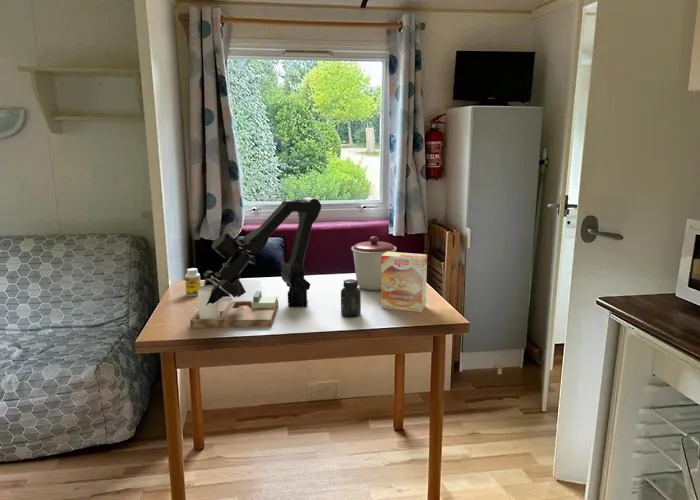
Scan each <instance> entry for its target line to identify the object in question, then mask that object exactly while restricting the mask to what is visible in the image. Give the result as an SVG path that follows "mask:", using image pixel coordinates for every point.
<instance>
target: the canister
mask: <svg viewBox="0 0 700 500" xmlns="http://www.w3.org/2000/svg"><path fill="white" fill-rule="evenodd" d="M350 250H351V251H352V254H353V261H354V269H355V270H354V272H355V278H356V279H355V280H357V281H358V288H359V289H360V288H361V289H362V290H366V291H381V265H382V255H383V254H384V253H386V252H397V250H398V249H397V246H395V245H393V244H392V243H390V242H386V241H379V238H378V237H377V236H371V237H370V238H369V241H362V242H358V243H356V244H354V245H352V246H351V249H350Z"/></svg>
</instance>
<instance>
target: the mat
mask: <svg viewBox="0 0 700 500" xmlns="http://www.w3.org/2000/svg"><path fill="white" fill-rule="evenodd" d="M230 300H231V301H232V300H233V299H232V297H222V298H221V299H219V301H230ZM198 308H199V305H198Z"/></svg>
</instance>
